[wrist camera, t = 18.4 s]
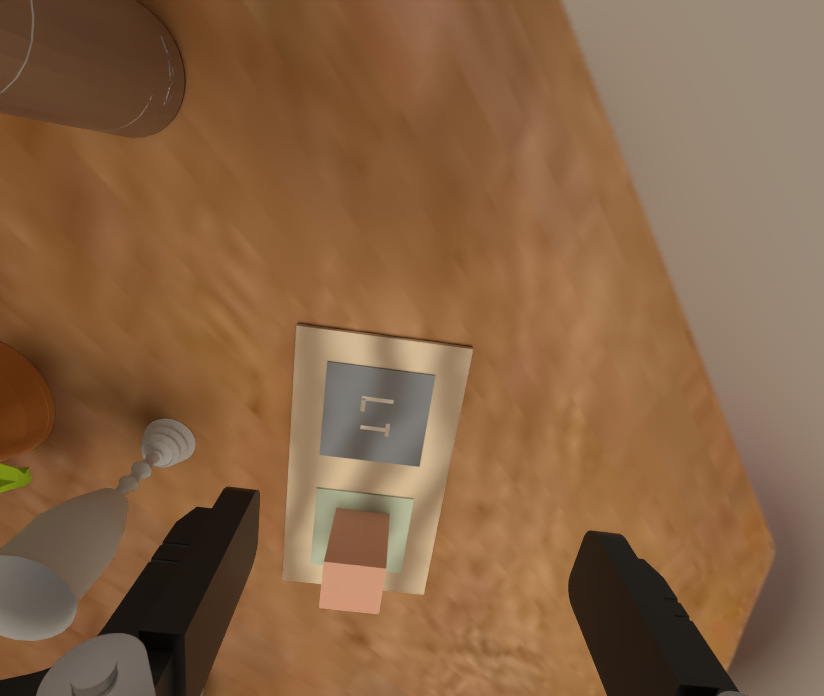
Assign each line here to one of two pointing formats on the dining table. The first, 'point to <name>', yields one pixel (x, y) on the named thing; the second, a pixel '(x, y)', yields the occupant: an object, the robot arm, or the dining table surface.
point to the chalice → (75, 544)
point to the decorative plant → (21, 414)
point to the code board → (370, 444)
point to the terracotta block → (355, 561)
